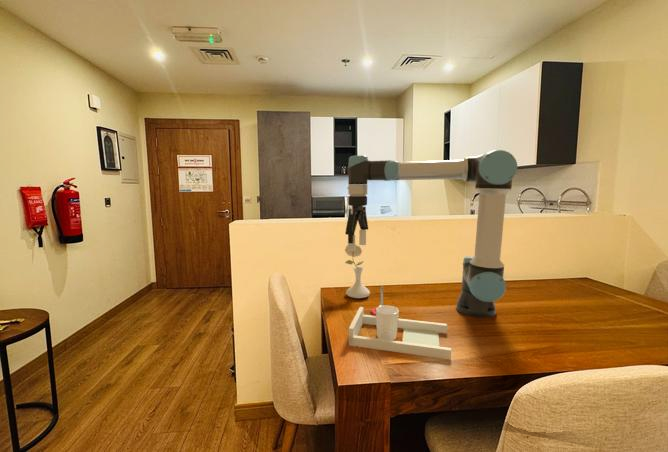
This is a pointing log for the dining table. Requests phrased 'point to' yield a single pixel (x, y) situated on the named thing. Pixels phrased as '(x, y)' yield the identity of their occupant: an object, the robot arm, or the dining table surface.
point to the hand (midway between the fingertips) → (357, 248)
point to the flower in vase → (357, 288)
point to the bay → (415, 337)
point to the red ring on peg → (380, 302)
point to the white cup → (387, 322)
